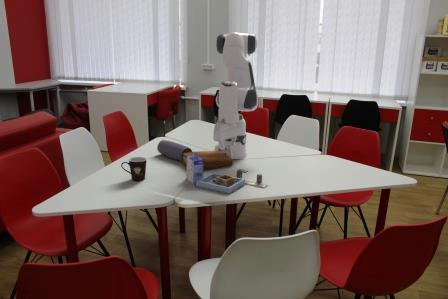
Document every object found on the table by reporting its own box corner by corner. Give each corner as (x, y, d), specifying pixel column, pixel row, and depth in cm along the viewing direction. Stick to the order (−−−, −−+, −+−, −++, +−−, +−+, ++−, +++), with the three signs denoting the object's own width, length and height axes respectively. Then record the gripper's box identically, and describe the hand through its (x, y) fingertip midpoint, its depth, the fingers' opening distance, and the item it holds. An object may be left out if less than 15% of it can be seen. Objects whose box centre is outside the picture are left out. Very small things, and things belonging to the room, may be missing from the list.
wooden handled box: (230, 181, 188) (230, 171, 187) (239, 176, 196) (239, 166, 195) (264, 188, 179) (265, 178, 178) (272, 182, 187) (272, 173, 186)
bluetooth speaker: (193, 162, 219) (193, 145, 217) (180, 165, 212) (181, 147, 210) (168, 154, 234) (169, 138, 232) (156, 156, 228) (156, 139, 225)
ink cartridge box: (203, 184, 185) (204, 155, 181) (193, 185, 182) (193, 156, 179) (196, 178, 193) (196, 150, 190) (186, 179, 191) (185, 151, 187)
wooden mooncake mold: (208, 182, 184) (208, 174, 183) (219, 179, 188) (219, 171, 188) (225, 188, 176) (225, 180, 175) (235, 185, 180) (235, 177, 179)
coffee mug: (150, 177, 192) (149, 158, 190) (141, 182, 184) (140, 162, 182) (130, 174, 196) (129, 155, 193) (120, 179, 188) (119, 160, 186)
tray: (196, 186, 180) (196, 181, 179) (213, 178, 192) (213, 172, 192) (229, 194, 171) (229, 188, 170) (244, 184, 183) (245, 179, 183)
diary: (193, 171, 198) (193, 160, 197) (180, 162, 215) (181, 152, 213) (232, 168, 209) (232, 158, 207) (217, 159, 225) (217, 150, 224)
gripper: (222, 121, 163) (221, 153, 166) (244, 115, 180) (243, 143, 183) (209, 120, 166) (209, 151, 169) (233, 114, 183) (232, 142, 186)
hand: (227, 147), depth 176 cm, fingers open, 8 cm apart
